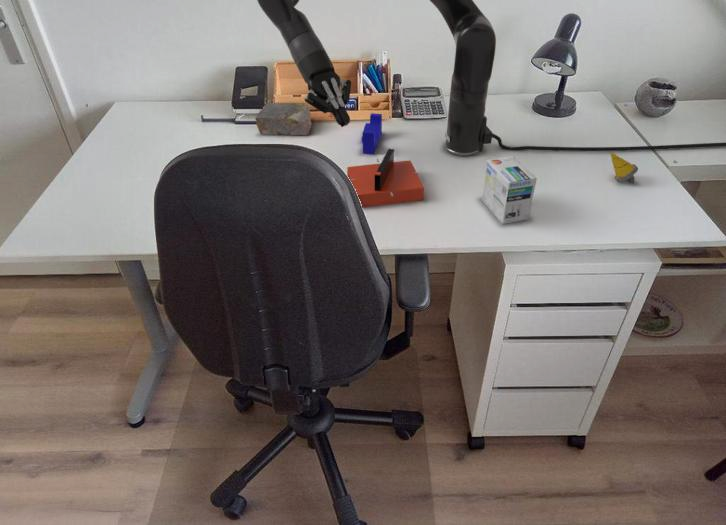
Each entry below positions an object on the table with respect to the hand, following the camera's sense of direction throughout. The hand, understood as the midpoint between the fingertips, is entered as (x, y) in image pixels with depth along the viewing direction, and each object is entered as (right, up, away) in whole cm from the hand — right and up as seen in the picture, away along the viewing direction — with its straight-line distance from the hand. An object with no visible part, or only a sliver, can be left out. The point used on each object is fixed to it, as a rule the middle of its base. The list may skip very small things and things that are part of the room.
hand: (346, 124), depth 126 cm
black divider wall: (+9, -12, +3) cm, 15 cm away
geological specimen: (-19, +7, +32) cm, 38 cm away
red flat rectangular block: (+9, -14, +6) cm, 18 cm away
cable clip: (+6, +1, +24) cm, 25 cm away
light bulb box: (+36, -20, -2) cm, 41 cm away
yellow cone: (+67, -12, +7) cm, 68 cm away
